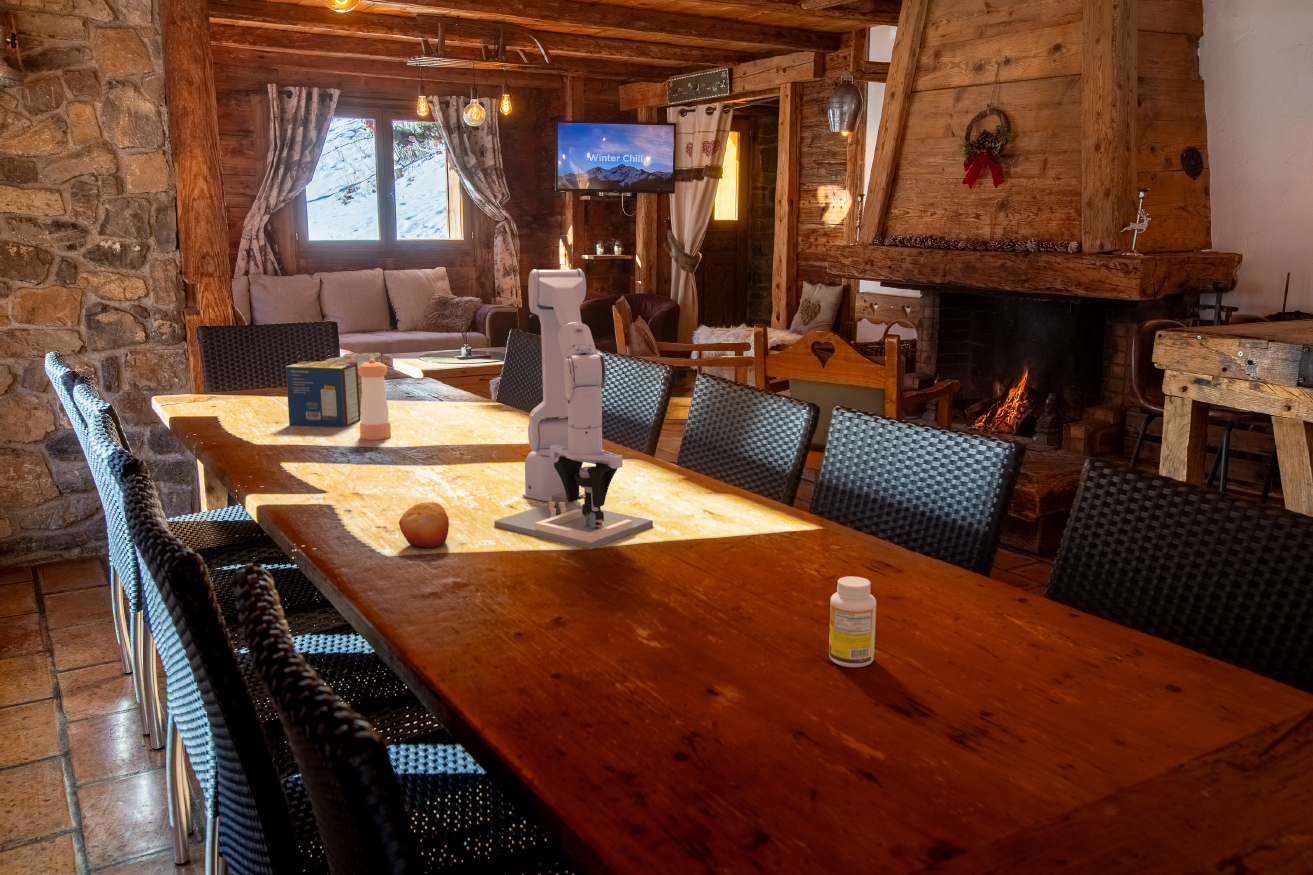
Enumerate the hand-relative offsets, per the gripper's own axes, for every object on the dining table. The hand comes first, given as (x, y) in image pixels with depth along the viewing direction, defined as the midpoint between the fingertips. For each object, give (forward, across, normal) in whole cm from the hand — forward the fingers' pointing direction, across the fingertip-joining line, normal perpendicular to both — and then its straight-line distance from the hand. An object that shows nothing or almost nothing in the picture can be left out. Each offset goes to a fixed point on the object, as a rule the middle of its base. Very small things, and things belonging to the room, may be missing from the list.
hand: (585, 503), depth 186 cm
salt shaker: (+5, -94, +32) cm, 99 cm away
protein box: (+5, -119, +36) cm, 124 cm away
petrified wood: (+5, -135, +56) cm, 146 cm away
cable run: (+4, -11, +6) cm, 13 cm away
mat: (+5, -4, +2) cm, 7 cm away
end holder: (+4, 0, 0) cm, 4 cm away
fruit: (+6, -17, -21) cm, 28 cm away
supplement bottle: (+6, +61, -22) cm, 65 cm away
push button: (+4, 0, +1) cm, 5 cm away
